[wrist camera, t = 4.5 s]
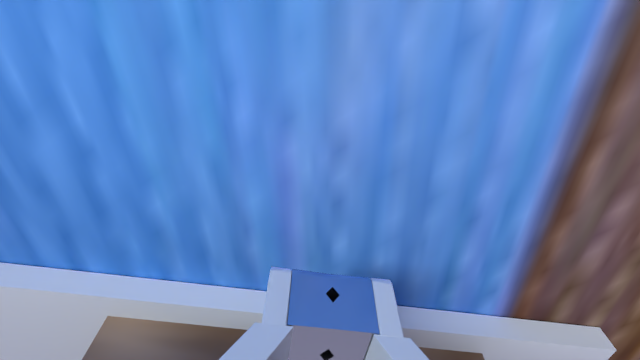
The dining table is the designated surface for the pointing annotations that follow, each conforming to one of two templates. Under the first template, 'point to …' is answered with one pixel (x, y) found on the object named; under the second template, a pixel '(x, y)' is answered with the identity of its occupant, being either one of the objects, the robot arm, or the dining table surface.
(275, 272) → the robot arm
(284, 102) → the dining table surface
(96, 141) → the dining table surface
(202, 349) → the t block
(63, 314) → the mat
